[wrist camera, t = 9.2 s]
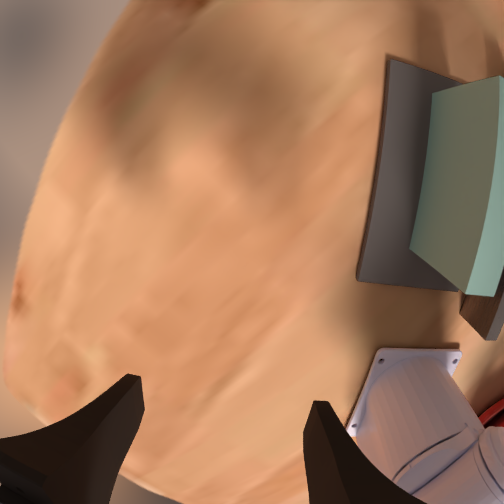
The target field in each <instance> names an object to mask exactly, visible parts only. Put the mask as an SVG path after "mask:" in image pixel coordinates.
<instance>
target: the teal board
mask: <svg viewBox="0 0 504 504" xmlns="http://www.w3.org/2000/svg"><path fill="white" fill-rule="evenodd" d="M409 249H410V250H412V251H413V252H414V253H415V254H417V255H418V256H419V257H421V258H422V259H423V260H424V261H426V262H427V263H428V264H429V265H431V266H432V267H433V268H434V269H436V270H437V271H438V272H439V273H440V274H442V275H443V276H444V277H445V278H447V279H448V280H449V281H450V282H451V283H453V284H454V285H455V286H456V287H457V288H459V289H460V290H461V291H462V292H463V293H464V294H470V295H481V296H491V297H494V295H495V292H496V289H497V286H498V283H499V280H500V277H501V273H502V270H503V267H504V78H503V77H502V76H500V75H499V76H495V77H490V78H486V79H482V80H479V81H475V82H471V83H467V84H463V85H460V86H456V87H452V88H449V89H445V90H442V91H439V92H435V93H432V105H431V117H430V128H429V137H428V146H427V154H426V161H425V168H424V175H423V181H422V187H421V193H420V199H419V204H418V209H417V215H416V220H415V224H414V229H413V234H412V238H411V243H410V247H409Z"/></svg>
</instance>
